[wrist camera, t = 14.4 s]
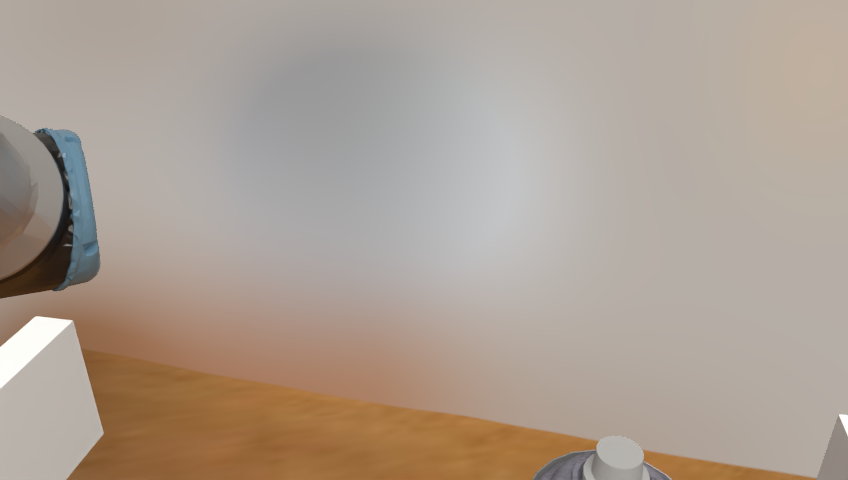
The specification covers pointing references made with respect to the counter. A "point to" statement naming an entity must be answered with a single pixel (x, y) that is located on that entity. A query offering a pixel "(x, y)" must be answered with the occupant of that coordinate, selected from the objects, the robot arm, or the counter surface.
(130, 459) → the counter surface
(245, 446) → the counter surface
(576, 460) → the aerosol can
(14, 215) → the robot arm
